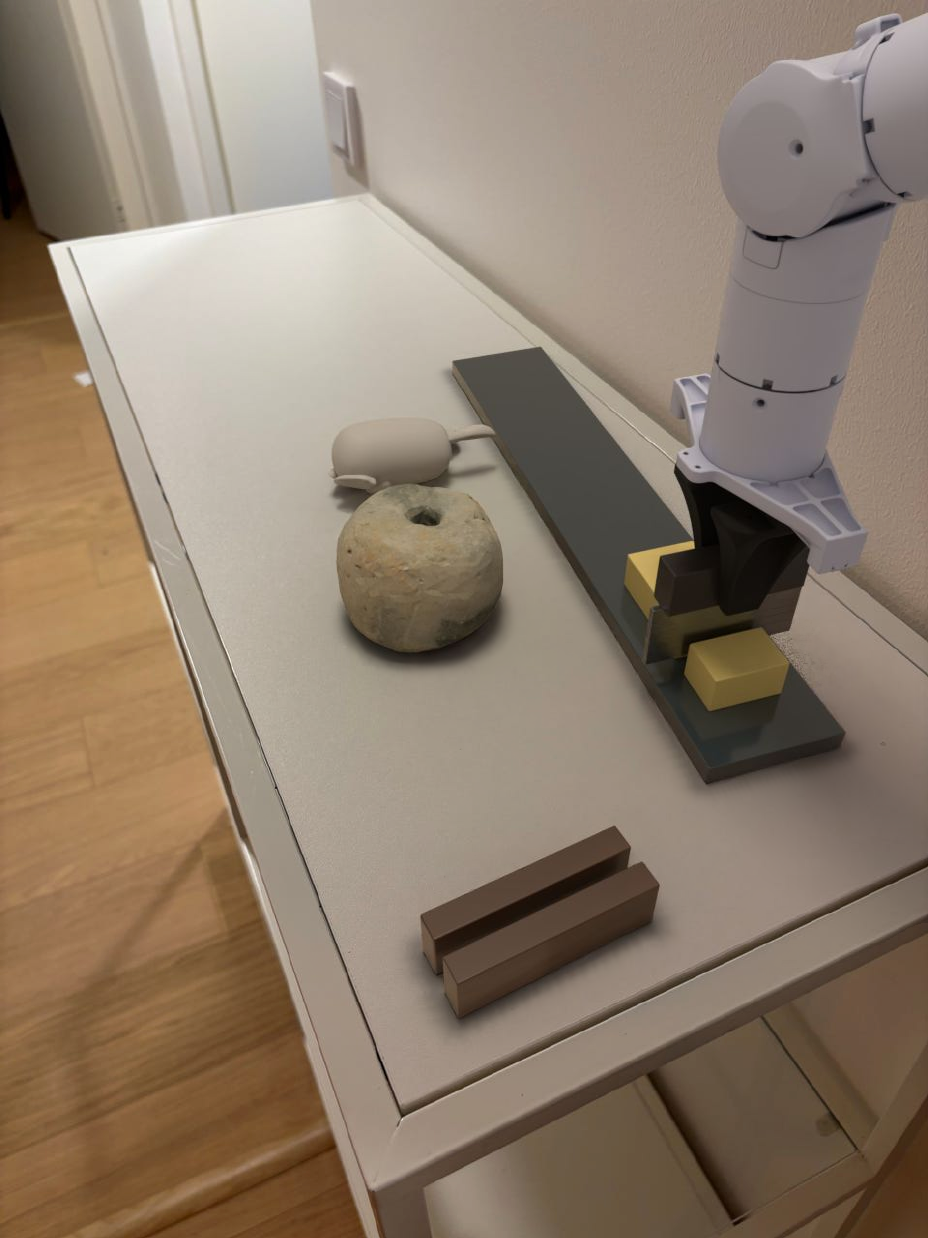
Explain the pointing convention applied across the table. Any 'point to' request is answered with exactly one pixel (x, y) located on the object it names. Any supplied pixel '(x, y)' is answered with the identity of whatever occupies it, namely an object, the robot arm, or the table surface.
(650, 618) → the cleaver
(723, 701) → the butter pat
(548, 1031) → the table surface
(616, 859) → the knife rack
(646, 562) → the butter stick
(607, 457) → the butter board
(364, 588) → the stone
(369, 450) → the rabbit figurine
